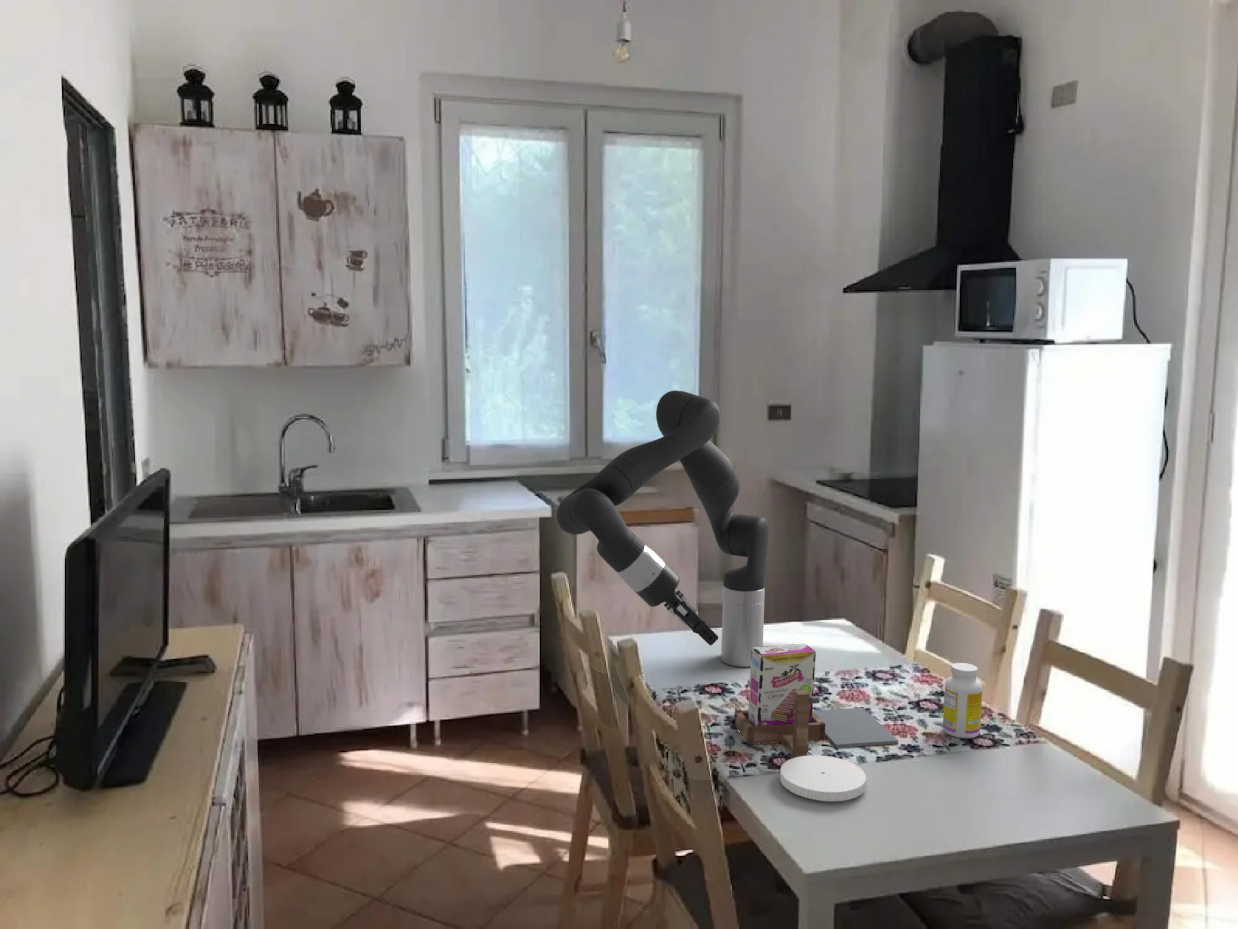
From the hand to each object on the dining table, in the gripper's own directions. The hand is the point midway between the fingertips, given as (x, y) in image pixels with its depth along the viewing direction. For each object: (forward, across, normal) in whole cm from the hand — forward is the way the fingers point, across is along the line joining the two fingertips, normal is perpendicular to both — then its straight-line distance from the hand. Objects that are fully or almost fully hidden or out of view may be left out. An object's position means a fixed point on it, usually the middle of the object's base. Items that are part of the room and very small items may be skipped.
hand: (708, 634), depth 188 cm
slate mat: (+34, 0, -6) cm, 34 cm away
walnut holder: (+24, 0, +4) cm, 24 cm away
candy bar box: (+24, 0, +4) cm, 25 cm away
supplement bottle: (+48, -5, -20) cm, 52 cm away
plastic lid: (+24, -22, +4) cm, 33 cm away
